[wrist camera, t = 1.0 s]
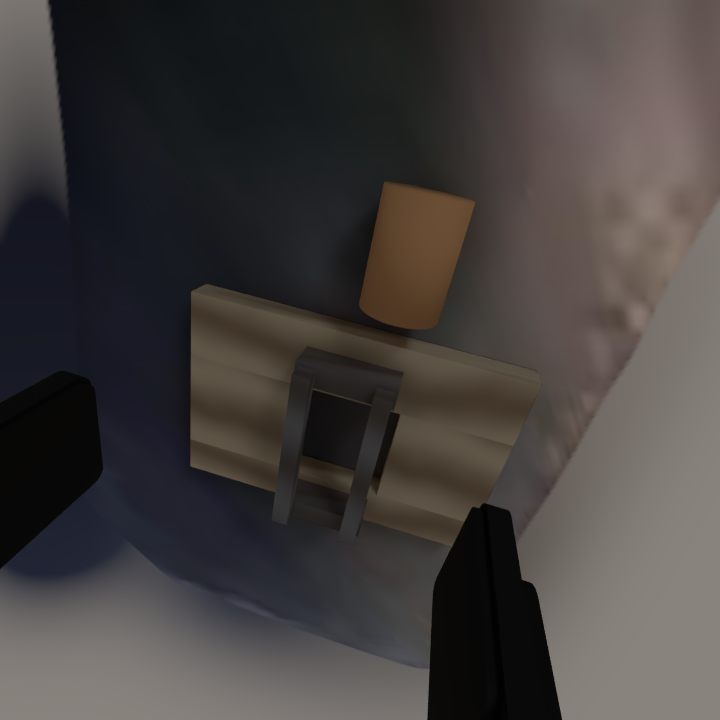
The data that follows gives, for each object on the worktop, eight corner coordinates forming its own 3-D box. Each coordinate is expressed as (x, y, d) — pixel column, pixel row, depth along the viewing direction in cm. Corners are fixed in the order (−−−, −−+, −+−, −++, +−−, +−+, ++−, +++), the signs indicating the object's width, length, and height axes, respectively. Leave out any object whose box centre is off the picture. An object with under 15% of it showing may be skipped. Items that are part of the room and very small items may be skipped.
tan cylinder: (389, 179, 25) (378, 184, 20) (471, 198, 24) (478, 207, 20) (365, 290, 28) (352, 315, 23) (438, 308, 28) (438, 337, 23)
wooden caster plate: (206, 283, 30) (158, 308, 25) (536, 371, 28) (554, 416, 23) (202, 451, 37) (164, 496, 32) (463, 530, 35) (465, 591, 30)
